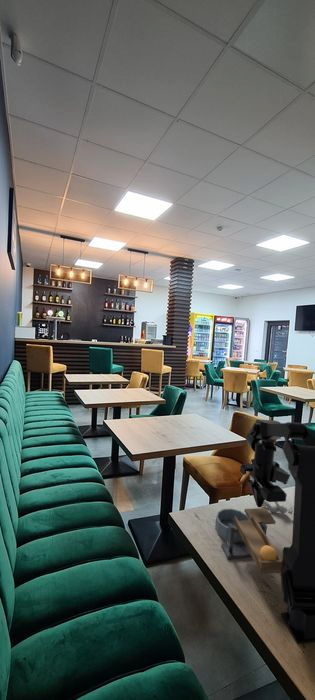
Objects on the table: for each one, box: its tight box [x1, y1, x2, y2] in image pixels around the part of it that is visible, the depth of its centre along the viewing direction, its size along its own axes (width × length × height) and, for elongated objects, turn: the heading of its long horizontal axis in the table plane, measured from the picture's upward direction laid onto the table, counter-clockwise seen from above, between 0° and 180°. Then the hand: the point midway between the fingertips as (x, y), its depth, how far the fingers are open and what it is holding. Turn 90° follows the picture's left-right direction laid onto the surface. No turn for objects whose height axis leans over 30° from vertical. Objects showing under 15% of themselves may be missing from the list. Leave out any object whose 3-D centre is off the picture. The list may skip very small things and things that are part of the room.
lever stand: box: [220, 522, 268, 560], centre depth 90 cm, size 5×13×8 cm, turn 100°
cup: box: [214, 508, 250, 543], centre depth 99 cm, size 11×11×4 cm
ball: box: [260, 545, 277, 561], centre depth 79 cm, size 4×4×4 cm
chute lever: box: [234, 507, 283, 575], centre depth 87 cm, size 22×14×3 cm, turn 10°
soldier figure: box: [261, 500, 294, 515], centre depth 111 cm, size 8×5×12 cm
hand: (258, 506), depth 98 cm, fingers closed
